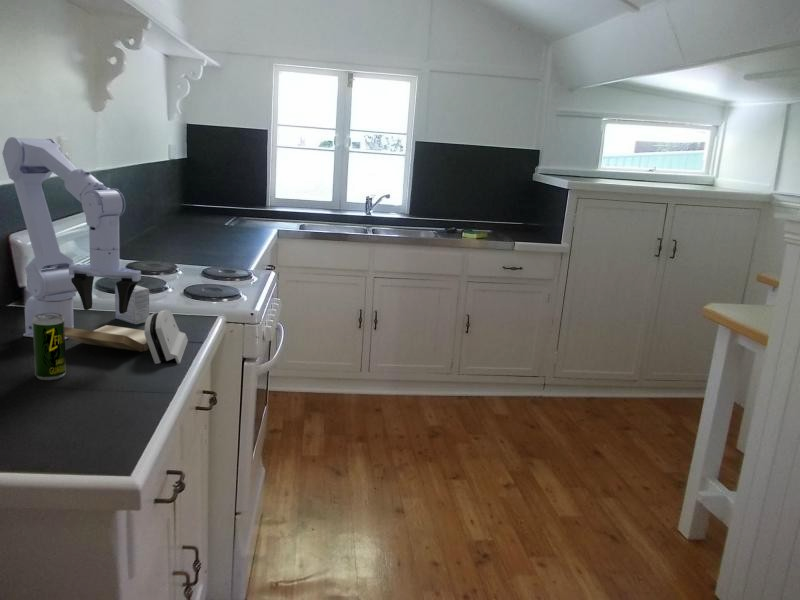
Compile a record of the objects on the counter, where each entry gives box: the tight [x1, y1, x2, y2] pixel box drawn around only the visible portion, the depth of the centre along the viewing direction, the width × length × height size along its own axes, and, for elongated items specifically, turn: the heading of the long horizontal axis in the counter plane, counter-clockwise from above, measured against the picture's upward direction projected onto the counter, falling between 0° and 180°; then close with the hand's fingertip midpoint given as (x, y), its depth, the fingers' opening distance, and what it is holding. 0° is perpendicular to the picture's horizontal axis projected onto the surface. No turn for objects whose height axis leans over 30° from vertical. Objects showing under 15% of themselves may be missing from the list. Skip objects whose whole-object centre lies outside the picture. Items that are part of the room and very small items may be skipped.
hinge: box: [144, 309, 189, 365], centre depth 150 cm, size 17×5×10 cm, turn 11°
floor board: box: [93, 324, 150, 352], centre depth 154 cm, size 15×9×2 cm, turn 80°
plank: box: [64, 327, 144, 353], centre depth 146 cm, size 15×8×2 cm, turn 80°
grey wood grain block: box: [114, 285, 151, 325], centre depth 170 cm, size 8×4×9 cm, turn 58°
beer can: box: [32, 313, 67, 381], centre depth 130 cm, size 5×5×12 cm
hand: (105, 310), depth 144 cm, fingers open, 7 cm apart
